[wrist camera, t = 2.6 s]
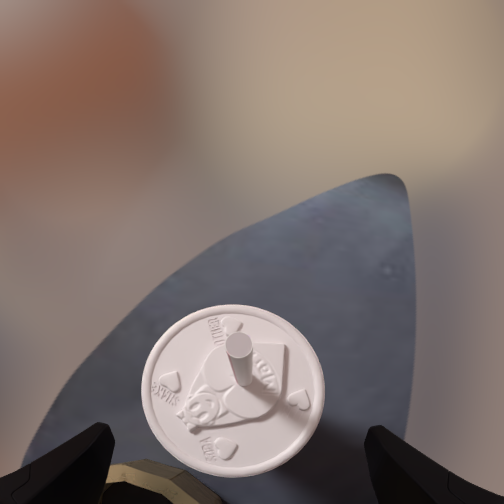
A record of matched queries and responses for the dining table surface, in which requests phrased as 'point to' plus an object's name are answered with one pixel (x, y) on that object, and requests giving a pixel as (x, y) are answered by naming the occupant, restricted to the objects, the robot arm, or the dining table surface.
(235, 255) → the dining table surface
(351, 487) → the dining table surface
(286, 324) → the smoothie
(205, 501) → the collar
